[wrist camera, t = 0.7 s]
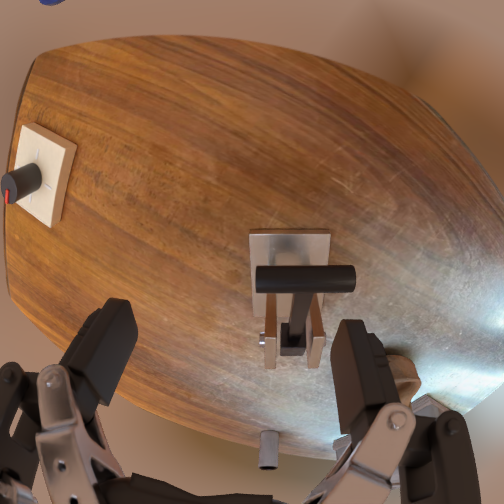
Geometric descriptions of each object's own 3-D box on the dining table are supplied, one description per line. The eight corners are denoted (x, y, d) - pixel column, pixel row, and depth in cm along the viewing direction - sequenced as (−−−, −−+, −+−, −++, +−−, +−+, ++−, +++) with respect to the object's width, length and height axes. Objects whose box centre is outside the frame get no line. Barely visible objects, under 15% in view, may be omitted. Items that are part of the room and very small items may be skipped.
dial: (27, 158, 25) (0, 169, 20) (44, 169, 26) (16, 181, 21) (23, 183, 27) (-2, 197, 22) (39, 195, 28) (14, 210, 23)
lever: (256, 253, 15) (254, 291, 14) (352, 253, 15) (359, 290, 13) (263, 332, 26) (262, 355, 25) (319, 332, 25) (320, 355, 24)
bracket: (249, 229, 31) (236, 301, 20) (328, 229, 30) (357, 300, 19) (253, 310, 37) (245, 389, 26) (319, 310, 36) (332, 388, 25)
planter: (275, 429, 56) (273, 465, 47) (281, 435, 58) (280, 469, 49) (258, 431, 57) (255, 466, 48) (264, 437, 59) (262, 470, 50)
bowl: (441, 360, 39) (445, 407, 32) (387, 383, 49) (386, 426, 42) (391, 334, 36) (394, 396, 28) (330, 364, 45) (325, 415, 38)
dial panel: (34, 122, 25) (21, 125, 22) (77, 145, 27) (64, 149, 24) (21, 193, 30) (10, 199, 28) (60, 221, 32) (49, 228, 30)
